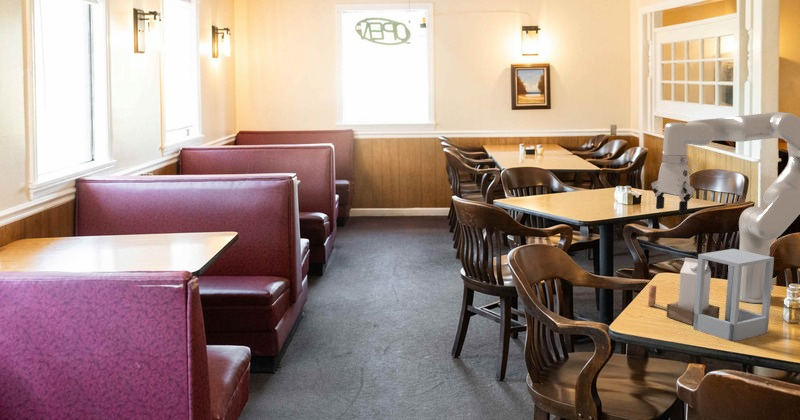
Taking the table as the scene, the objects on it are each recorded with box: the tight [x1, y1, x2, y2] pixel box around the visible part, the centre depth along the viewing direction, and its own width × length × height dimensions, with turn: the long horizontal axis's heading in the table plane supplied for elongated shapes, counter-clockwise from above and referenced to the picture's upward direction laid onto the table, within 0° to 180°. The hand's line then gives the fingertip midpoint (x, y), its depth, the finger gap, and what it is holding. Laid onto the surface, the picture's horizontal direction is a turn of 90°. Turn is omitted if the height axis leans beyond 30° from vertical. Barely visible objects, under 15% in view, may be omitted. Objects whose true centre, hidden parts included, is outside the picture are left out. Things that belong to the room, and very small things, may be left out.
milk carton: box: [677, 257, 712, 311], centre depth 264 cm, size 7×7×19 cm
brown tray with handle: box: [647, 284, 721, 326], centre depth 270 cm, size 12×23×6 cm, turn 32°
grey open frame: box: [692, 248, 775, 342], centre depth 252 cm, size 16×14×23 cm
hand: (671, 210), depth 284 cm, fingers open, 9 cm apart
